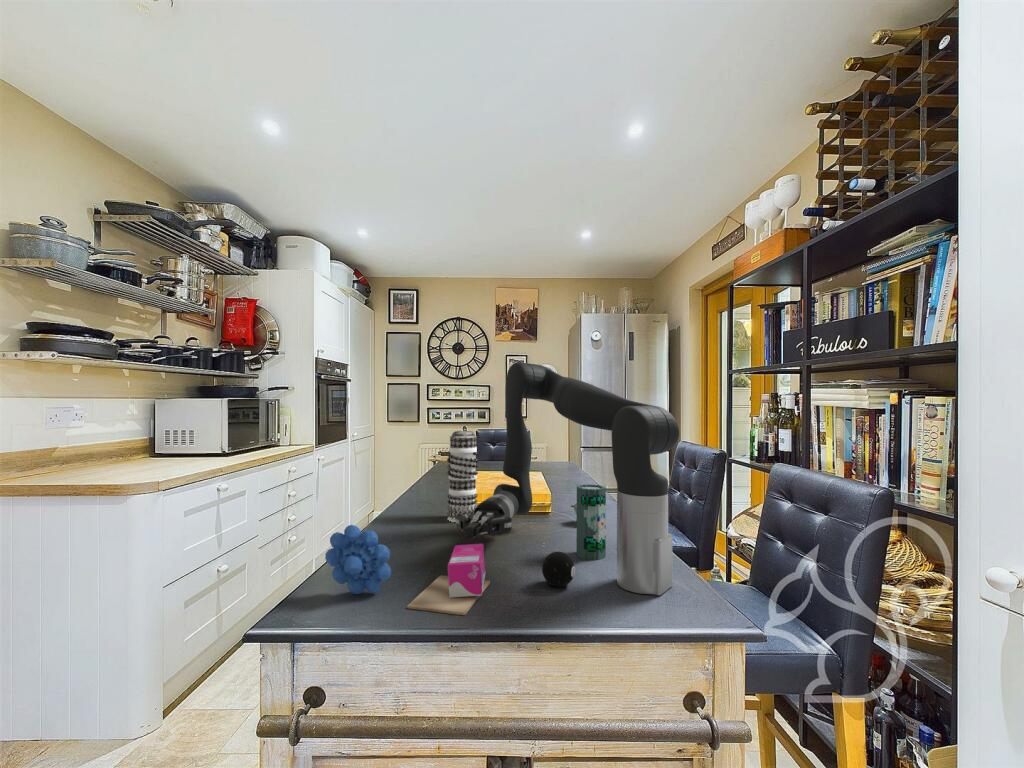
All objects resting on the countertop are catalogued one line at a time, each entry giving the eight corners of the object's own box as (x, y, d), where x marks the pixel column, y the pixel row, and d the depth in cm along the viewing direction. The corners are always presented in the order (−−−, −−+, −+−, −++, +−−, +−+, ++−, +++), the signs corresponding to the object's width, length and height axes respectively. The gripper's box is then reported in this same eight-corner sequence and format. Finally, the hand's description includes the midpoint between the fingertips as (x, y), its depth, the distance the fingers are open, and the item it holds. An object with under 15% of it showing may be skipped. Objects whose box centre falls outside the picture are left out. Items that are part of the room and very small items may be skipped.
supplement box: (486, 572, 93) (482, 597, 82) (456, 574, 93) (447, 599, 82) (485, 542, 93) (479, 562, 82) (454, 543, 93) (445, 564, 82)
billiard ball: (549, 577, 93) (550, 545, 93) (579, 582, 90) (579, 550, 91) (536, 587, 88) (537, 554, 88) (567, 594, 85) (567, 559, 85)
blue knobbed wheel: (314, 604, 80) (315, 531, 80) (330, 588, 87) (331, 521, 87) (383, 605, 80) (385, 532, 80) (394, 589, 87) (395, 521, 87)
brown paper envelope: (440, 577, 92) (440, 575, 92) (490, 582, 90) (490, 580, 90) (406, 608, 79) (407, 605, 79) (464, 615, 76) (464, 612, 76)
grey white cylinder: (466, 513, 144) (467, 429, 144) (484, 519, 137) (485, 431, 137) (439, 518, 138) (441, 431, 139) (458, 525, 131) (459, 432, 132)
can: (592, 561, 102) (592, 490, 103) (571, 554, 107) (571, 486, 107) (610, 555, 106) (610, 487, 106) (589, 549, 111) (589, 483, 111)
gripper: (467, 495, 113) (438, 511, 96) (522, 498, 110) (502, 516, 93) (467, 527, 113) (438, 549, 96) (522, 531, 109) (502, 555, 92)
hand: (470, 533), depth 94 cm, fingers closed
